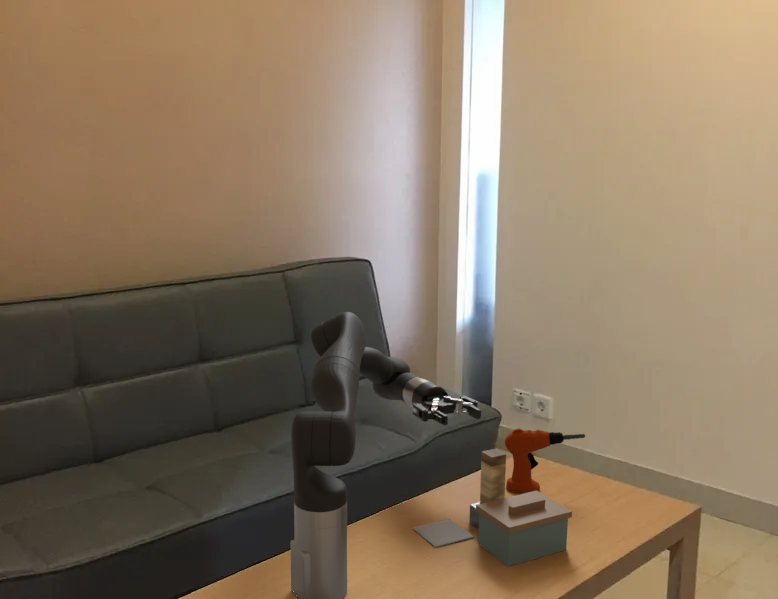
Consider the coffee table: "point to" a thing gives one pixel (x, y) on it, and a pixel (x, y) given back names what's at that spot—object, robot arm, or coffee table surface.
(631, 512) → the coffee table surface
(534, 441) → the toy drill
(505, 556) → the toolbox
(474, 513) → the gray open box
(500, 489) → the mottled beige block
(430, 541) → the rubber mat
